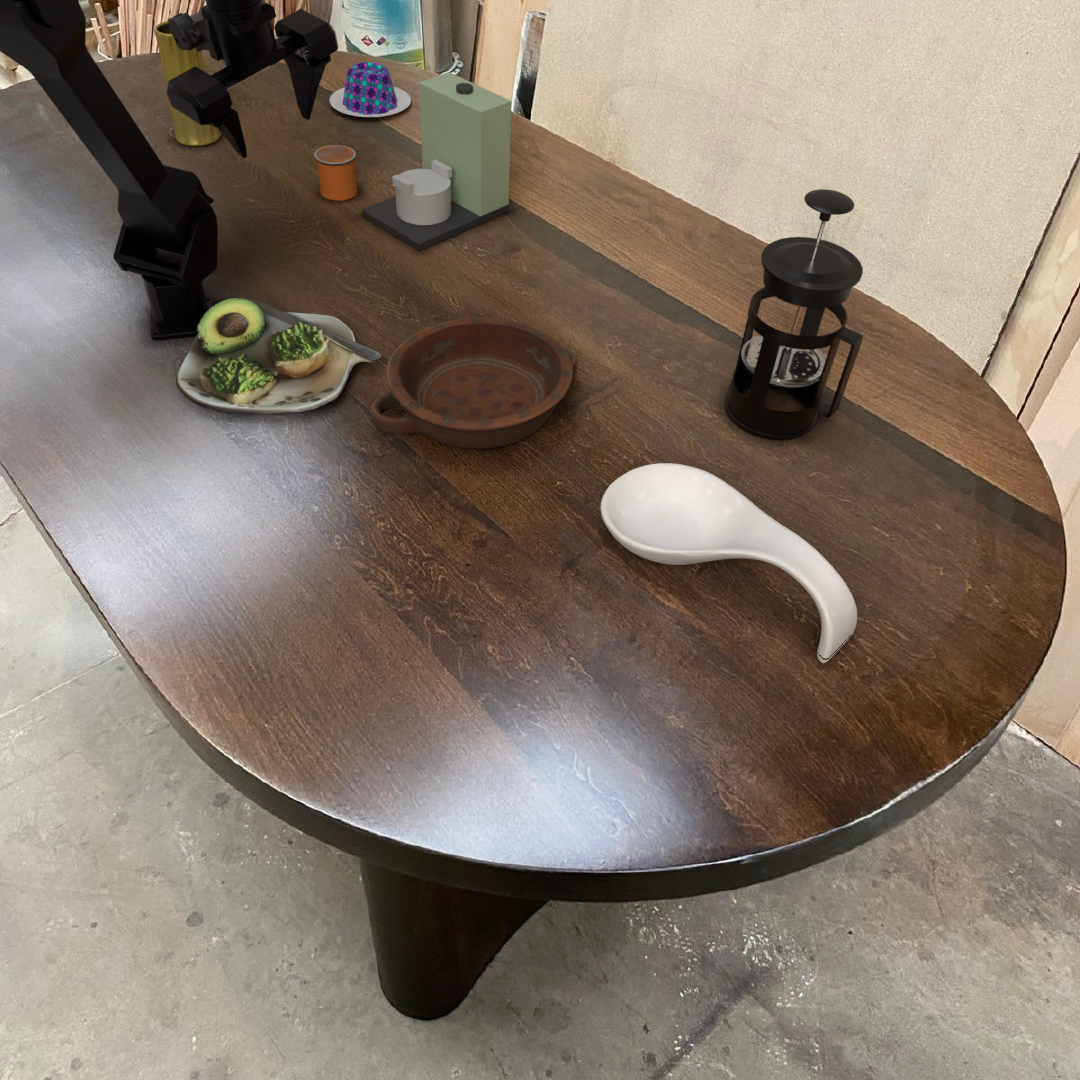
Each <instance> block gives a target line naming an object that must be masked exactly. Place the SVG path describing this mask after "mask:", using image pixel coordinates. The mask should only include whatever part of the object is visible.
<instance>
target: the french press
mask: <svg viewBox="0 0 1080 1080" xmlns="http://www.w3.org/2000/svg"><path fill="white" fill-rule="evenodd" d="M803 198H804V199H803V200H804V203H805V204H806V206H807V207H809V208H810V209H812V210H814V211H816V212H819V217H818V218H819V220H820V221H821V222H820V226H819V229H818V233H817V236H816V238H815V237H807V236H789V237H785V238H784V237H783V238H780V239H776V240H774V241H772V242H770V243H769V244H767V245H766V246H765V247H764V248H763V250H762V252H761V257H760V261H761V266H762V267H763V271H762V276H763V278H762V281H763V284H764V286H763V287H762V288H759V289H758V290H756V292H755V293H754V294H753V295H752V296H751V299H750V302H749V305H748V306H749V307H748V310H747V318H746V319H747V320H746V322H745V323H746V324H745V328H744V332H743V336H742V340H741V343H740V348H739V352H738V357H737V361H736V365H735V368H734V371H733V373H732V377H731V382H730V385H729V390H728V391H726V395H725V397H724V403H723V405H724V410H725V413H726V415H727V417H728V418H729V419H730V421H731V422H732V423H733V424H734V425H735V426H737V427H738V428H739V429H741V430H742V431H743V432H745V433H747V434H750V435H752V436H755V437H757V438H761V439H765V440H771V441H789V440H790V441H791V440H794V439H798V438H802V437H803V436H805V435H807V434H808V433H810V432H811V431H812V430H813V428H814V427H815V425H816V423H817V421H818V415H820V416H822V417H824V418H826V419H829V418H830V419H831V417H832V416H833V415H834V414H836V412H838V411H839V408H840V406H841V403H842V400H843V396H844V395H845V391H846V389H847V386H848V383H849V380H850V377H851V375H852V371H853V368H854V365H855V363H856V359H857V357H858V354H859V351H860V349H861V346H862V342H863V340H864V335H863V334H862V333H860V332H857V331H855V330H854V329H851V328H849V327H846V326H847V322H848V312H847V310H846V308H845V307H844V305H843V304H844V303H845V302H846V301H847V300H849V298H850V296H851V294H852V291H853V287H855V286H857V285H858V284H859V282H860V281H861V279H862V276H863V273H864V271H863V270H864V269H863V266H862V262H861V261H860V260H859V258H858V257H857V256H856V255H855V254H853V252H851V251H850V250H848V249H846V248H845V247H843V246H841V245H839V244H836V243H834V242H831V241H828V240H825V239H822V237H823V232H824V229H825V226H826V222H829V221H830V220H831V217H832V216H833V215H834V216H839V215H845V214H848V213H850V212H852V211H854V208H855V202H854V200H853V199H852V198H851V197H850V196H848V195H847V194H845V193H843V192H841V191H838V190H833V189H829V188H827V189H826V188H819V189H814V190H811V191H808V192H807V193H806V194H805V195H804V197H803ZM774 297H775V298H777V299H779V300H781V301H783V302H785V303H788V304H790V305H794V306H797V307H796V311H795V313H794V318H793V322H792V325H791V328H790V332H785V331H782V330H779V329H778V328H775V327H773V326H772V325H769V324H767V323H766V322H765V321H764V320H762V319H761V318H760V317H759V316H758V314H759V311H760V307H761V302H762V301H763V300H766V299H769V298H774ZM802 308H806V309H805V313H804V316H803V320H802V324H801V327H800V331H799V333H798V334H795V331H796V327H797V324H798V320H799V317H800V314H801V310H802ZM826 309H827V310H828V311H830V312H831V313H833V314H834V316H836V318H837V320H838V321H839V323H840V327H839V328H838V329H837V330H835V331H833V332H830V333H827V334H822V335H818V333H819V330H820V327H821V324H822V320H823V317H824V314H825V311H826ZM754 331H755V332H756V333H757V334H758V335H757V336H754V337H753V335H754ZM841 341H843V342H845V343H847V344H849V345H850V348H849V352H848V354H847V358H846V361H845V362H844V366H843V369H842V372H841V375H840V378H839V381H838V384H837V387H836V390H835V392H834V395H833V398H832V401H831V404H829V403H828V402H826V401H824V400H822V398H823V394H824V391H825V388H826V385H827V382H828V379H829V376H830V373H831V371H832V367H833V364H834V361H835V358H836V355H837V352H838V349H839V346H840V343H841ZM827 347H829V349H828V352H827V355H825V353H824V352H823V351H822V350H821V349H824V348H827ZM769 388H770V389H776V390H780V391H782V392H785V393H787V394H789V395H790V396H793V397H794V398H795V400H797V401H798V402H799V403H800V404H801V406H802V408H803V409H800V410H794V411H780V410H774V409H771V408H766V407H765V402H766V400H767V399H766V398H767V394H768V392H769ZM747 391H748V395H747V397H745V396H744V395H743V394H744V393H745V392H747Z"/></svg>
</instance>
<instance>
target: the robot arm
mask: <svg viewBox="0 0 1080 1080" xmlns="http://www.w3.org/2000/svg"><path fill="white" fill-rule="evenodd" d="M204 1H205V5H203V6H201V7H200V9H201V10H200V11H197V12H195V13H193V14H192V15H190V14H189V13H188V12H183V13H182V12H179V13H177V14H174V16H172V17H170V18H168V19H167V21H168V23H169V27H170V30H171V33H172V36H173V38H174V40H175V42H176V44H177V46H178V47H179V48H180V49H181V50H192V49H194V48H196V50H197V52H201V53H202V51H208V52H209V55H210V57H211V59H213V60H215V61H217V62H220V61H221V60H222V61H224V64H225V67H223V68H222V69H220V70H218V71H216V72H214V73H212V74H209V73H207V71H206V72H204V71H202V70H201V69H199V68H197V67H196V66H195V67H193V68H191V69H189V70H188V71H186V72H184V73H182V74H180V75H178V76H177V77H175V78H173V79H171V80H169V82H168V84H167V88H166V92H165V93H166V95H167V98H169V99H168V101H169V100H170V103H171V106H172V107H173V108H175V109H176V110H178V111H180V112H181V113H183V114H184V115H186V116H187V117H189V118H191V119H192V120H194V121H195V122H197V123H198V124H200V125H209V124H210V125H212V126H214V127H217V128H218V129H219V131H220V132H221V135H222V136H223V137H224V138H225V140H226V141H227V142H228V143H229V144H230V146H231V147H232V148H233V150H234V151H235V152H236V153H237V155H238V156H239V157H241V158H242V159H246V158H247V157H248V153H247V146H246V141H245V137H244V133H243V129H242V125H241V120H240V116H239V113H238V111H237V110H235V109H234V108H233V107H232V105H233V100H232V98H231V94H230V92H231V91H233V90H234V89H237V88H238V87H239V86H242V85H243V84H245V83H247V82H249V81H250V80H252V79H254V78H255V77H258V76H259V75H260V74H263V73H264V72H266V71H268V70H269V69H271V68H272V66H274V65H276V64H278V63H279V62H281V61H284V63H285V64H286V66H287V68H288V71H289V75H290V81H291V85H292V87H293V92H294V97H295V100H296V104H297V107H298V110H299V113H300V115H301V117H302V119H305V120H306V121H309V120H310V119H311V116H312V113H313V108H314V106H315V101H316V97H317V93H318V90H319V86H320V84H321V81H322V77H323V75H324V72H325V70H326V66H327V65H328V64H329V63H331V62H332V54H334V53H336V52H337V51H339V43H338V38H337V33H336V31H335V29H334V28H333V26H332V24H331V23H329V22H327V21H325V20H323V19H322V18H320V17H318V16H317V15H314V14H312V13H311V12H308V11H306V9H302V8H299V9H298V10H296V11H294V12H292V13H290V14H288V15H286V16H285V17H283V18H281V19H279V20H277V21H276V23H275V24H274V26H273V25H272V22H271V21H272V20H273V19H275V18H277V13H276V9H275V6H273V5H271V4H269V3H267V2H266V0H204ZM273 28H274V29H273ZM86 30H87V18H86V15H85V13H84V10H83V8H82V6H81V4H80V2H79V0H0V52H1V53H2V54H3V55H5V56H7V58H9V59H11V60H13V61H14V62H15V63H17V64H18V65H20V66H21V67H22V68H24V69H25V70H27V71H28V72H29V73H30V74H31V75H32V77H33V78H34V79H35V81H36V82H37V83H38V85H39V86H40V87H41V88H42V90H43V92H44V93H45V94H46V95H47V97H48V98H49V99H50V101H51V102H52V103H53V105H54V106H55V107H56V109H57V110H58V111H59V113H60V114H61V115H62V117H63V118H64V120H65V121H66V122H67V123H68V125H69V126H70V128H71V129H72V130H73V131H74V133H75V134H76V136H77V137H78V138H79V140H80V141H81V142H82V144H83V145H84V146H85V147H86V149H87V151H88V152H89V153H90V154H91V156H92V157H93V158H94V159H95V161H96V162H97V164H98V165H99V167H101V169H102V171H103V172H104V173H105V174H106V176H107V177H108V178H109V180H110V181H111V182H112V184H113V186H114V187H115V188H116V190H117V204H116V205H117V206H116V210H117V212H118V214H119V216H120V218H121V220H122V223H121V227H120V231H119V235H118V237H117V241H116V245H115V248H114V251H113V256H112V258H113V260H114V261H115V263H116V264H117V266H118V267H119V269H120V270H121V271H123V272H126V273H127V272H129V273H133V274H136V275H140V276H141V280H142V282H143V286H144V289H145V293H146V296H147V300H148V303H149V309H150V311H149V313H150V314H149V315H150V319H149V320H150V326H149V327H150V329H149V330H150V334H149V335H150V338H151V340H153V341H161V340H168V339H169V340H170V339H178V338H188V337H196V336H197V326H198V324H199V321H200V319H201V318H202V316H203V315H204V314H205V312H206V311H207V310H208V309H210V308H211V307H212V306H213V305H214V300H213V298H212V297H210V296H208V297H207V296H206V292H205V288H204V283H203V281H204V280H205V279H207V278H209V276H210V275H212V274H213V273H214V272H215V271H216V270H217V269H218V249H219V247H218V245H219V229H218V228H219V227H218V226H219V225H218V219H217V218H218V217H217V214H216V212H215V210H214V208H213V206H212V205H211V204H213V203H214V201H215V200H214V198H212V197H211V196H209V195H208V193H207V192H206V191H205V189H204V186H203V185H202V182H201V180H200V178H199V177H198V176H197V175H196V174H195V173H194V172H193V171H190V170H185V169H182V168H177V167H174V166H169V165H166V164H164V163H163V162H162V161H161V159H160V158H159V156H158V155H157V153H156V152H155V150H154V148H153V147H152V146H151V144H150V143H149V141H148V140H147V138H146V136H145V134H143V132H142V131H141V129H140V127H139V126H138V124H137V123H136V122H135V120H134V118H133V117H132V115H131V114H130V112H129V111H128V109H127V107H126V106H125V105H124V103H123V101H122V100H121V99H120V97H119V95H118V94H117V92H116V91H115V90H114V87H112V86H113V85H112V84H110V82H109V80H108V79H107V77H106V76H105V74H104V73H103V71H102V69H101V68H100V66H99V65H98V64H97V62H96V60H95V59H94V58H93V56H92V54H91V53H90V52H89V49H88V48H87V45H86V35H87V32H86ZM274 31H275V33H274Z"/></svg>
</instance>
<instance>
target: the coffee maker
mask: <svg viewBox="0 0 1080 1080" xmlns="http://www.w3.org/2000/svg"><path fill="white" fill-rule="evenodd" d="M418 98H419V101H418V102H419V122H420V123H419V124H420V143H421V144H420V145H421V146H420V147H421V167H422V168H414V169H409V170H406V171H403V172H401V173H399V174H395V175H392V176H391V179H392V186H393V187H394V190H395V191H394V193H395V196H392V197H389V198H387V199H385V200H382V201H380V202H378V203H375V204H372V205H369V206H368V207H365V208H362V209H361V214H362V218H364V219H366V220H368V221H369V222H371V223H372V224H374V225H376V226H377V227H379V228H381V229H382V230H384V231H385V232H387V233H389V234H390V235H392V236H394V237H395V238H397V239H398V240H399V241H402V242H403V243H406V244H407V245H408V246H410V247H411V248H414V249H415V250H417V251H419V252H420V251H423V250H425V249H427V248H429V247H432V246H435V245H437V244H439V243H440V242H443V241H446V240H448V239H450V238H452V237H454V236H457V235H459V234H461V233H464V232H465V231H468V230H470V229H473V228H475V227H477V226H479V225H482V224H484V223H486V222H488V221H491V220H493V219H496V218H498V217H500V216H502V215H504V214H506V213H508V212H509V211H510V177H511V175H510V170H511V135H512V129H511V128H512V100H510V99H508V98H506V97H504V96H501V95H500V94H497V93H496V92H493V91H491V90H489V89H486V88H484V87H482V86H480V85H478V84H476V83H474V82H473V81H472V82H471V81H469V80H467V79H465V78H463V77H460V76H459V75H457V74H455V73H452V72H445V73H442V74H439V75H437V76H434V77H431V78H430V77H429V78H428V79H424V80H421V81H419V82H418Z"/></svg>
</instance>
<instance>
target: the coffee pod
mask: <svg viewBox="0 0 1080 1080" xmlns="http://www.w3.org/2000/svg"><path fill="white" fill-rule="evenodd" d="M313 157H314V160H315V161H316V169H317V176H318V177H317V178H318V184H319V193H320V195H321V196H322V197H323V198H325V199H327V200H330V201H347V200H350V199H353V198H354V197H356V195H357V194H358V192H359V189H358V178H357V169H356V158H357V152H356V151H355V150H354V149H353V148H352V147H349V146H348V145H347V146H346V145H341V144H330V145H324V146H322V147H319V148H318V149H316V150H315V151H314V154H313Z"/></svg>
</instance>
